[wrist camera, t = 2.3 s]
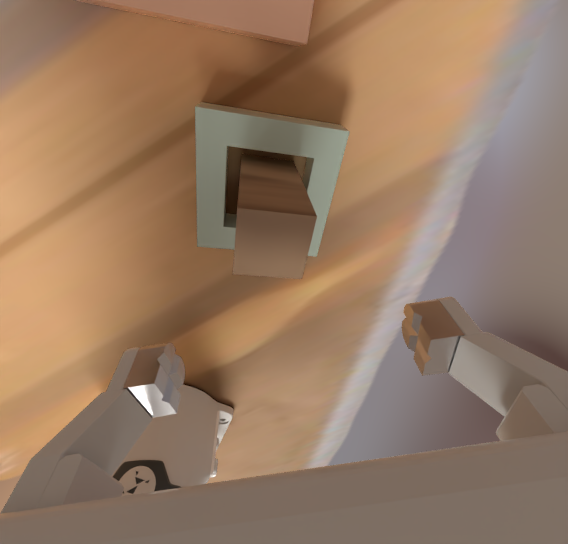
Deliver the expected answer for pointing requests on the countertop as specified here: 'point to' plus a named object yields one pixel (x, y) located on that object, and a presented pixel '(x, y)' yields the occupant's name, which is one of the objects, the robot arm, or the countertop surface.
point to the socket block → (230, 15)
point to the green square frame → (265, 137)
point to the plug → (272, 219)
